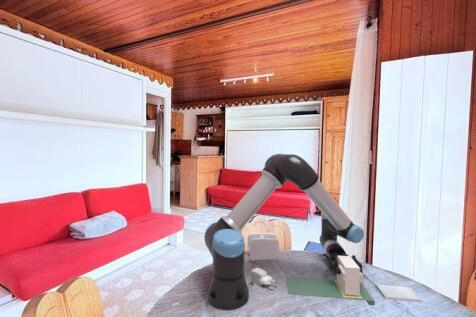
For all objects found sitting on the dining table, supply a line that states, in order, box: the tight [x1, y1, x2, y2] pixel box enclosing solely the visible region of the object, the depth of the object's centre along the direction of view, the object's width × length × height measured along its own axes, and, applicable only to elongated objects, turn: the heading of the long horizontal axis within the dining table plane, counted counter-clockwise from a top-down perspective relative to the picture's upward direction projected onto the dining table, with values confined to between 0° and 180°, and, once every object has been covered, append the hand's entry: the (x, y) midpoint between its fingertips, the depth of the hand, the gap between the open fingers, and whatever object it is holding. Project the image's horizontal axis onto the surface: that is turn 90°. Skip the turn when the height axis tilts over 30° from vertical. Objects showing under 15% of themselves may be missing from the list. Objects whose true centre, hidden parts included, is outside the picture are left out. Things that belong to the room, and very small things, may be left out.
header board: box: [285, 275, 376, 306], centre depth 91 cm, size 30×13×6 cm, turn 83°
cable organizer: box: [247, 232, 280, 263], centre depth 120 cm, size 15×11×12 cm
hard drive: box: [375, 284, 423, 303], centre depth 90 cm, size 2×8×12 cm
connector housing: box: [336, 255, 360, 296], centre depth 90 cm, size 5×10×10 cm, turn 173°
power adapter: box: [250, 267, 279, 287], centre depth 94 cm, size 11×5×6 cm, turn 46°
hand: (352, 277), depth 85 cm, fingers closed on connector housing, 5 cm apart
